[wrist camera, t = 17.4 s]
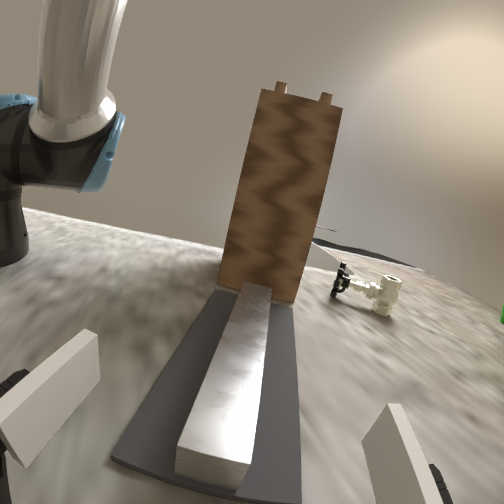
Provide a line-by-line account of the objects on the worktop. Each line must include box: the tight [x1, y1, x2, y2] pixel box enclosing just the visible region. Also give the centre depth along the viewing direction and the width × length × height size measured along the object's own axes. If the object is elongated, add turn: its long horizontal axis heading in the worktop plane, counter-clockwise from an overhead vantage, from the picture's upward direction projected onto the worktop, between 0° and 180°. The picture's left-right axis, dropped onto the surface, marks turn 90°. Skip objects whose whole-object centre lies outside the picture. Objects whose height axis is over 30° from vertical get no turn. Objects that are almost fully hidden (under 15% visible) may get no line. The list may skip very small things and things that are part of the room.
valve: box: [330, 262, 402, 316], centre depth 47 cm, size 7×7×12 cm
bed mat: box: [111, 289, 302, 504], centre depth 25 cm, size 11×29×1 cm, turn 174°
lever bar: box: [174, 281, 272, 492], centre depth 23 cm, size 4×25×4 cm, turn 174°
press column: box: [217, 81, 343, 303], centre depth 46 cm, size 12×16×34 cm
